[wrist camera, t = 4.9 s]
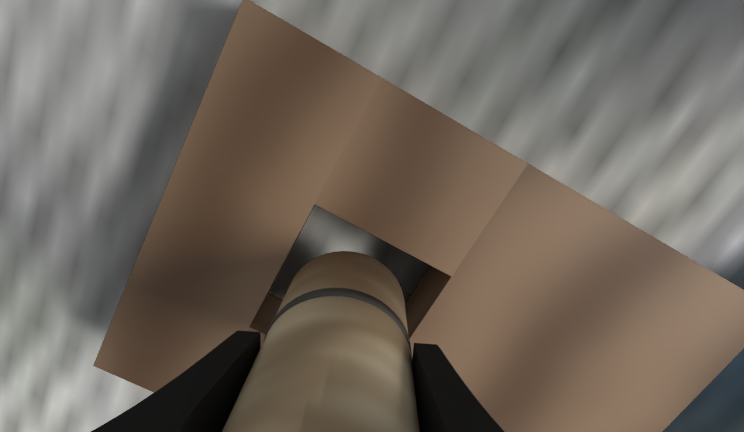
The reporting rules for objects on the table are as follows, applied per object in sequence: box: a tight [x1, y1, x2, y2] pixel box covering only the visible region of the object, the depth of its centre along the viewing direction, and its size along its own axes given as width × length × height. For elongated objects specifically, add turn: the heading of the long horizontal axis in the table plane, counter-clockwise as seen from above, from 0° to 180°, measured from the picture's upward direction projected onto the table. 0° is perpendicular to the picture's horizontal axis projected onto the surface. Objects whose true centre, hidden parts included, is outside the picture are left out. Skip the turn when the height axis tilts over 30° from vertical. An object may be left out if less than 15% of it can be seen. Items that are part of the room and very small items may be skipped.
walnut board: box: [93, 0, 744, 432], centre depth 16 cm, size 20×14×2 cm
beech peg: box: [222, 251, 420, 432], centre depth 10 cm, size 4×4×8 cm
